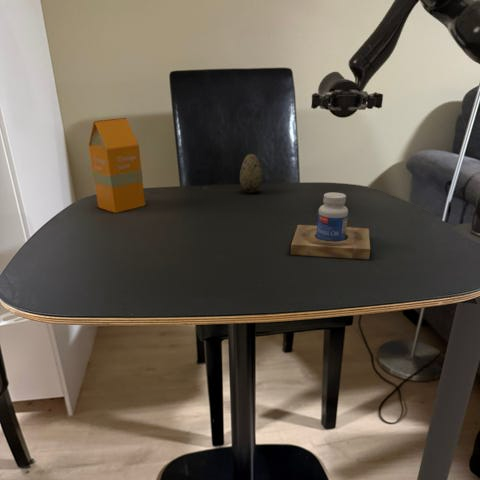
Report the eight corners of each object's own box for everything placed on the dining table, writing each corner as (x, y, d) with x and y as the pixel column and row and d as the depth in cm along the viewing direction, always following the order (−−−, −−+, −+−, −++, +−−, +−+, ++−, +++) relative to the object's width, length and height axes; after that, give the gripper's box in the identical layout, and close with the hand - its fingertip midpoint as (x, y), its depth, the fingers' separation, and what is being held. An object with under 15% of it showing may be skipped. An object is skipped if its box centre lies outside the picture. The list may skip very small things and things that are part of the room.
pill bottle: (312, 248, 91) (315, 196, 86) (320, 239, 95) (323, 190, 91) (340, 252, 89) (345, 199, 84) (347, 243, 93) (352, 192, 88)
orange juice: (145, 205, 119) (136, 118, 110) (115, 213, 114) (102, 122, 104) (127, 200, 124) (117, 116, 114) (97, 207, 118) (83, 119, 109)
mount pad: (367, 237, 96) (368, 228, 95) (369, 259, 85) (370, 249, 84) (297, 234, 98) (297, 224, 97) (290, 254, 88) (291, 244, 87)
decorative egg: (237, 194, 128) (237, 155, 123) (242, 189, 133) (242, 151, 128) (259, 195, 127) (260, 156, 122) (263, 190, 132) (264, 152, 127)
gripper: (373, 115, 109) (383, 123, 94) (309, 116, 110) (310, 123, 96) (377, 78, 105) (388, 81, 91) (311, 79, 107) (313, 81, 92)
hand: (348, 103), depth 93 cm, fingers open, 8 cm apart
